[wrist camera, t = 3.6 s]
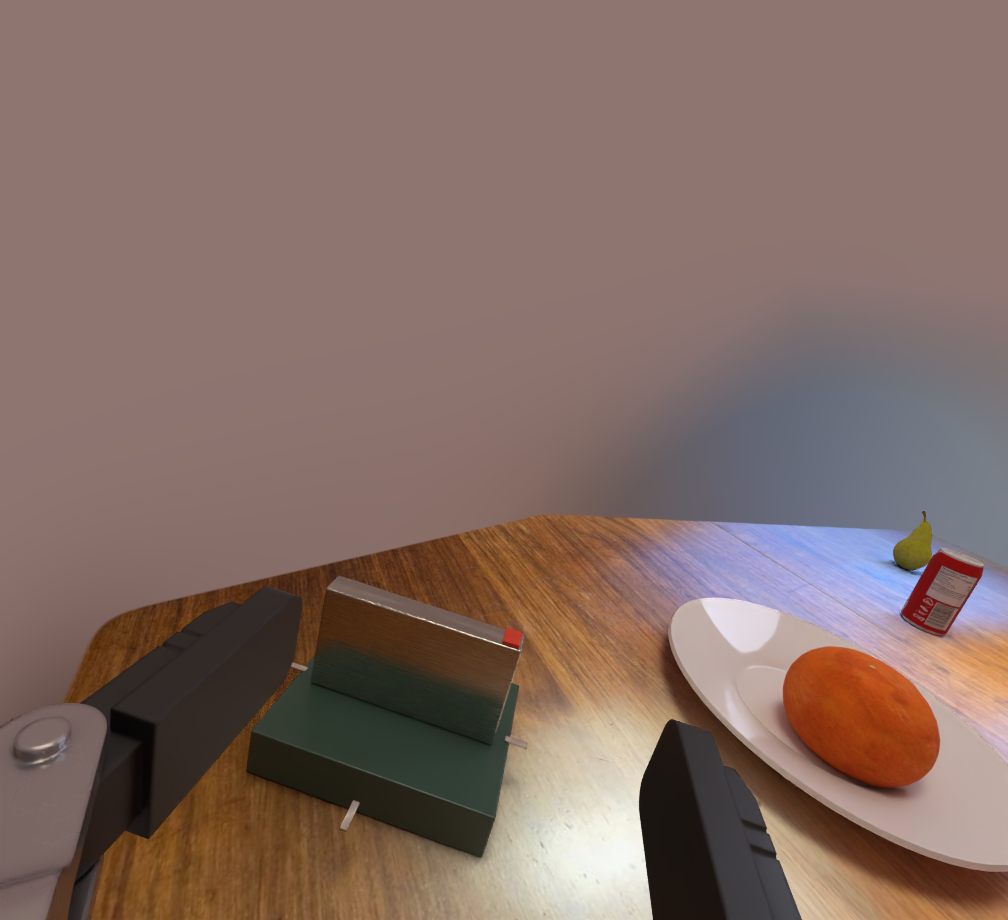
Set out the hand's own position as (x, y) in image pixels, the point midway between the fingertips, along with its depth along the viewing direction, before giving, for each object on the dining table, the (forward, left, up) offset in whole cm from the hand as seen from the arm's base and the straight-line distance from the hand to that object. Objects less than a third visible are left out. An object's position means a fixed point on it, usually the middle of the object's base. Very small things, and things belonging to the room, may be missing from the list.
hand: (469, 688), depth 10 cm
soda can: (+61, +64, -20) cm, 91 cm away
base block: (-4, +16, -20) cm, 26 cm away
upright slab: (-4, +16, -17) cm, 24 cm away
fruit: (+76, +92, -20) cm, 121 cm away
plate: (+30, +32, -20) cm, 48 cm away
